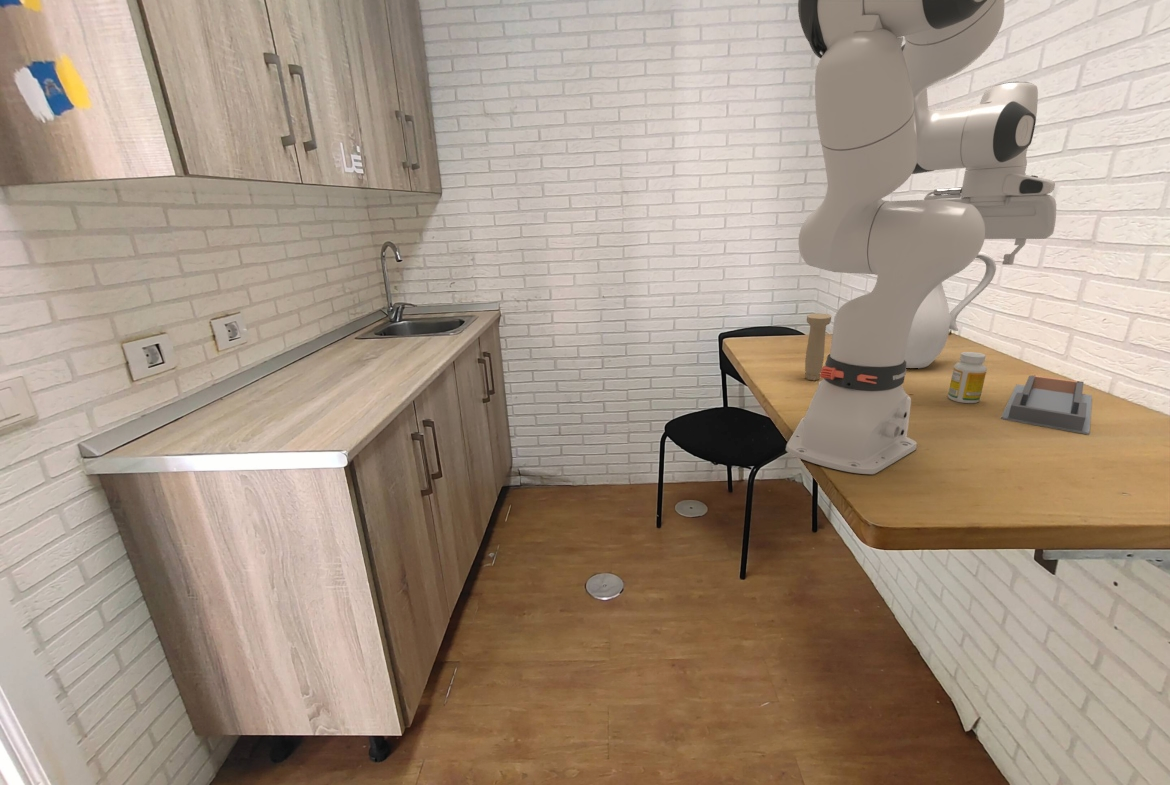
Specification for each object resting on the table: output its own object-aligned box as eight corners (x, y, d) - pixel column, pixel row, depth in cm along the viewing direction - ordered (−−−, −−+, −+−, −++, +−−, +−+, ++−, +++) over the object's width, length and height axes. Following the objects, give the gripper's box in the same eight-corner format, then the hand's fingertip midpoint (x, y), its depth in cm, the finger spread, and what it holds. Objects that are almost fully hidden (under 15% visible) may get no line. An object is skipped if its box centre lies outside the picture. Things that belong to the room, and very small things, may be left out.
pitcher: (867, 369, 128) (884, 253, 119) (862, 352, 143) (876, 247, 134) (985, 377, 119) (1012, 252, 110) (966, 358, 134) (989, 246, 125)
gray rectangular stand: (1089, 434, 89) (1093, 419, 88) (1000, 418, 97) (1004, 404, 96) (1091, 397, 105) (1095, 383, 104) (1016, 386, 113) (1019, 373, 112)
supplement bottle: (943, 399, 107) (952, 354, 104) (952, 393, 110) (961, 349, 107) (974, 406, 103) (984, 359, 100) (983, 399, 106) (993, 354, 103)
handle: (825, 376, 124) (833, 314, 119) (820, 384, 119) (828, 319, 114) (804, 374, 127) (810, 312, 122) (798, 381, 122) (804, 317, 117)
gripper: (921, 189, 99) (910, 263, 104) (1064, 182, 86) (1044, 267, 91) (928, 189, 104) (917, 260, 108) (1066, 181, 90) (1046, 263, 95)
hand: (976, 263), depth 99 cm, fingers open, 8 cm apart
